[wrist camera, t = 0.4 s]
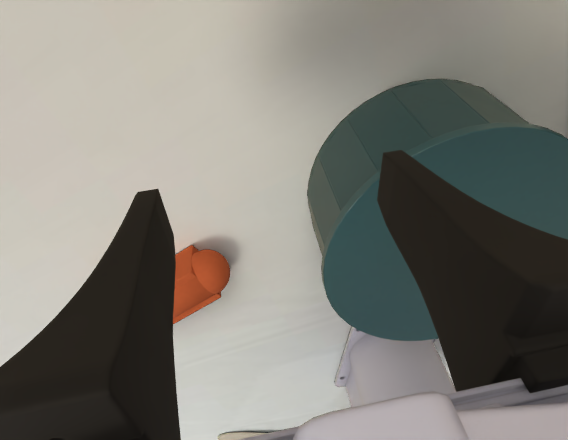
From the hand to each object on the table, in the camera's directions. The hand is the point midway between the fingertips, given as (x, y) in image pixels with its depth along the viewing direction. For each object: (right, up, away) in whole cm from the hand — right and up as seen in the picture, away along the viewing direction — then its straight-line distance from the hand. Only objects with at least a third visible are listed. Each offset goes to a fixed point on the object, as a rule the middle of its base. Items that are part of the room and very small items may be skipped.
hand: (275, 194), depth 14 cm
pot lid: (+9, -2, +9) cm, 13 cm away
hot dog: (-7, -5, +16) cm, 18 cm away
